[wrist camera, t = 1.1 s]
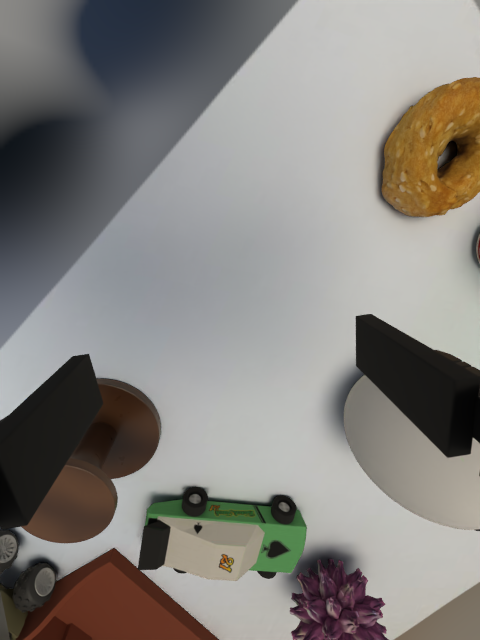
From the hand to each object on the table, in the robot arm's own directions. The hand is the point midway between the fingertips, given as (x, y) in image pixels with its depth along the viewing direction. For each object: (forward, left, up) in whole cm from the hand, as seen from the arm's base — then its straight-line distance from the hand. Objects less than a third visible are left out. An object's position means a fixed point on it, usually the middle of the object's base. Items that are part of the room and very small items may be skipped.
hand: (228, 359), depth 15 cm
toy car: (+28, +9, -16) cm, 34 cm away
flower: (+33, +25, -16) cm, 45 cm away
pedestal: (+18, -8, -16) cm, 26 cm away
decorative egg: (+6, +21, -16) cm, 28 cm away
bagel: (-18, +14, -16) cm, 28 cm away
